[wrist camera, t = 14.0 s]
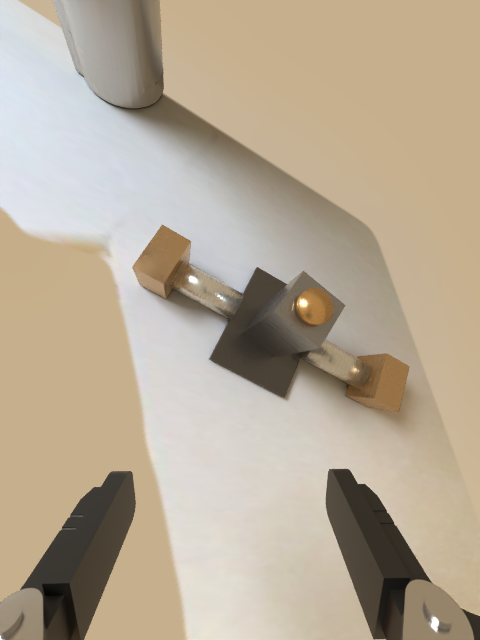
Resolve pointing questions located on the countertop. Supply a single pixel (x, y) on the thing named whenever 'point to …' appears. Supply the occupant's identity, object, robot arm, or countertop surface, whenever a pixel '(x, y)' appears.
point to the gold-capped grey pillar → (295, 318)
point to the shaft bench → (234, 345)
